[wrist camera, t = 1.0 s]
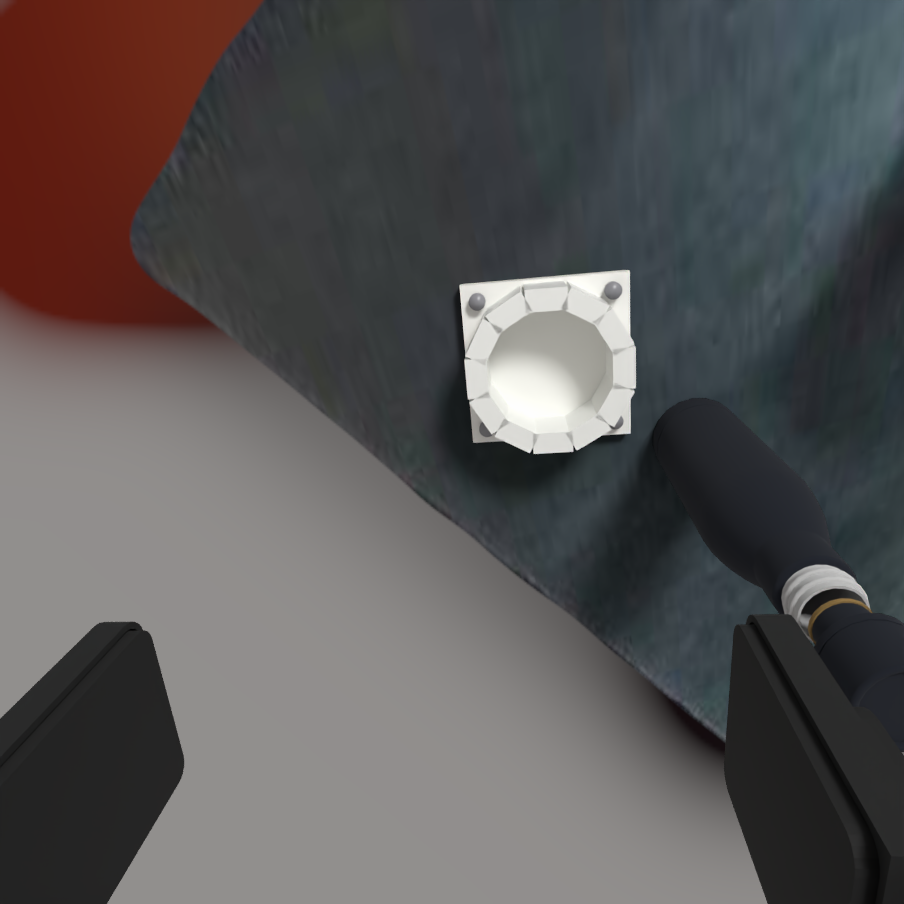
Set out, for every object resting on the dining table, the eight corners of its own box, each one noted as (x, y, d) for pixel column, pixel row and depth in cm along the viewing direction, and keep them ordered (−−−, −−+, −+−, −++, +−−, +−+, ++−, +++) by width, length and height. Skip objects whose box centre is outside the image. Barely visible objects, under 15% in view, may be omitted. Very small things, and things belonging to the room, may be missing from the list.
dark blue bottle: (748, 403, 50) (1039, 649, 22) (726, 482, 53) (965, 794, 25) (662, 391, 51) (844, 619, 23) (644, 470, 53) (788, 766, 25)
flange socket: (627, 269, 48) (639, 276, 43) (628, 429, 52) (639, 451, 47) (460, 284, 49) (454, 292, 45) (474, 438, 53) (469, 460, 49)
